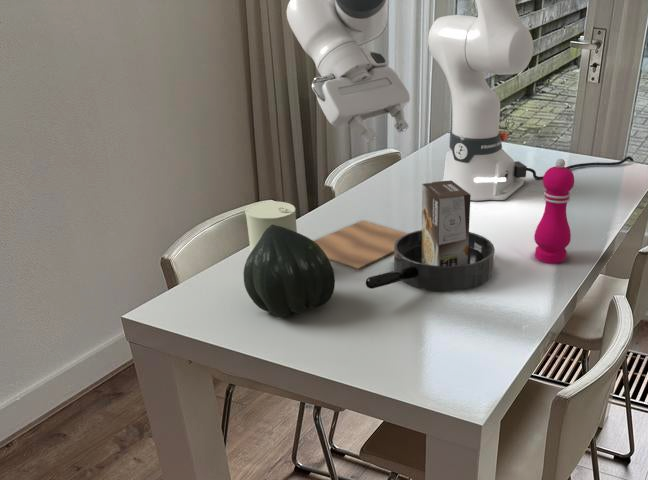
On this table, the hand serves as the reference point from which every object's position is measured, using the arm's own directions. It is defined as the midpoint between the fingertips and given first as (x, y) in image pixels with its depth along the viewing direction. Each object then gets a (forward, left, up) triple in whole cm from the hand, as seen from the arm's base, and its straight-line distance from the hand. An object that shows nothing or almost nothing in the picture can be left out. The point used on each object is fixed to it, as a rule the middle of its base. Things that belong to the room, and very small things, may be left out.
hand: (388, 134), depth 142 cm
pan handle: (+15, +13, -21) cm, 30 cm away
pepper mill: (-19, +26, -24) cm, 40 cm away
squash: (+29, +1, -24) cm, 38 cm away
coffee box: (0, +13, -24) cm, 27 cm away
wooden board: (0, -8, -24) cm, 25 cm away
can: (+19, -13, -24) cm, 33 cm away
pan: (0, +13, -24) cm, 27 cm away
